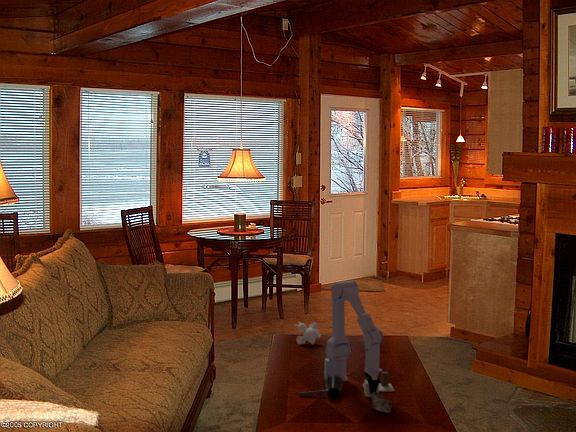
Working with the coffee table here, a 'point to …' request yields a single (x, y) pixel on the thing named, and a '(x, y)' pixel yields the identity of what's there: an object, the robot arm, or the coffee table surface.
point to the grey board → (385, 388)
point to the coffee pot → (328, 387)
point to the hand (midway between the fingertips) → (371, 391)
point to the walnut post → (384, 378)
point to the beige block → (366, 389)
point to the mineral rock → (381, 403)
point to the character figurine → (308, 333)
